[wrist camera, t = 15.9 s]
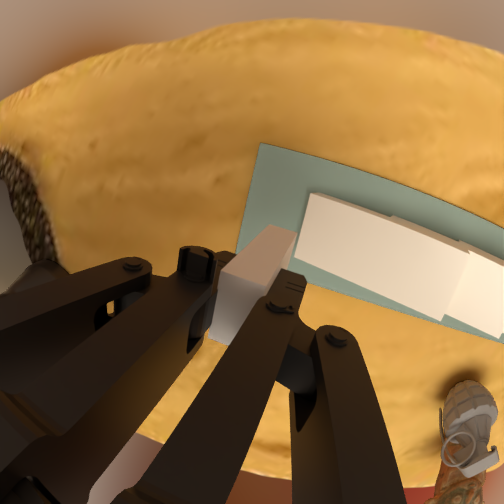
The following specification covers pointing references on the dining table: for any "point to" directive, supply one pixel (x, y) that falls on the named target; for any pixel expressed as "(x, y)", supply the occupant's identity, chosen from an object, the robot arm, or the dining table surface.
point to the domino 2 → (477, 290)
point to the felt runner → (362, 194)
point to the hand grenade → (469, 427)
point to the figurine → (456, 483)
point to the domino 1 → (381, 254)
